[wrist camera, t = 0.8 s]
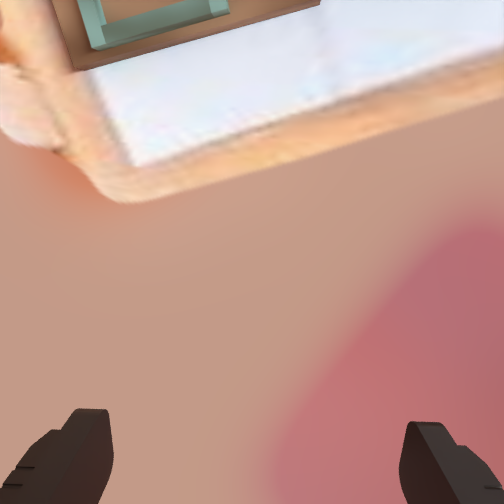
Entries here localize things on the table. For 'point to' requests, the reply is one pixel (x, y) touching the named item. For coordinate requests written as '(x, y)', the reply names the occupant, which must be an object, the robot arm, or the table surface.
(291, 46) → the table surface
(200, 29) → the holder plate
